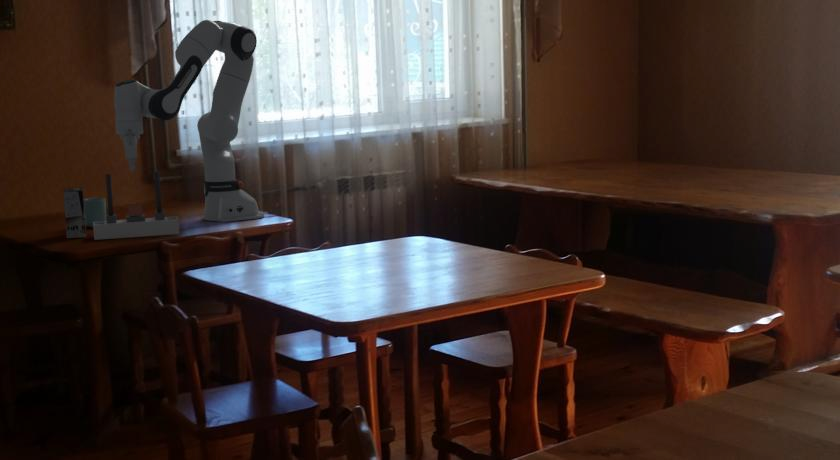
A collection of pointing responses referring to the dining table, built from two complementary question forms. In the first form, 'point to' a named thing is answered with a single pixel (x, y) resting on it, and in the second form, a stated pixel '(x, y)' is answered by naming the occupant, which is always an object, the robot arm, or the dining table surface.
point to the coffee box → (74, 212)
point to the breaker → (135, 210)
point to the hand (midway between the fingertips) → (132, 169)
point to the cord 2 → (158, 198)
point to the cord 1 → (110, 201)
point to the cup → (94, 210)
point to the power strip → (135, 227)
